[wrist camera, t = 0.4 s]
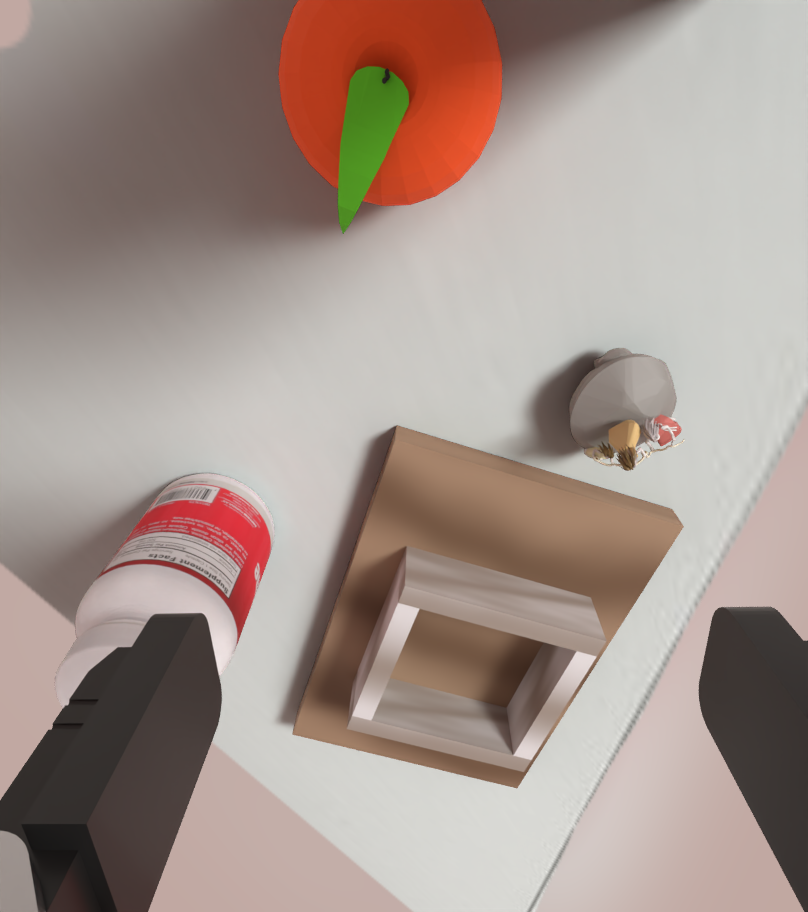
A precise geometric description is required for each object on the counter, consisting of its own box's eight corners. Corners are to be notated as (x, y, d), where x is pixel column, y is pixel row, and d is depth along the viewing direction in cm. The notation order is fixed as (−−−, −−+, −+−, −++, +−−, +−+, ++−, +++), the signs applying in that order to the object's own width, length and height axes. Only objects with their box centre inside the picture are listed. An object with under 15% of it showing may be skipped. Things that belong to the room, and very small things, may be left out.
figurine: (596, 322, 26) (632, 396, 21) (689, 354, 26) (746, 432, 22) (541, 422, 29) (562, 507, 24) (626, 448, 30) (664, 536, 25)
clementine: (439, 250, 25) (444, 289, 19) (272, 186, 24) (217, 203, 18) (524, 24, 21) (565, -23, 15) (332, -61, 21) (291, -150, 14)
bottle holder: (396, 425, 28) (392, 472, 24) (672, 509, 30) (710, 566, 26) (297, 712, 37) (281, 782, 33) (513, 765, 39) (524, 838, 35)
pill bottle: (229, 590, 33) (147, 781, 23) (132, 523, 31) (-2, 698, 22) (302, 521, 31) (245, 699, 21) (202, 444, 29) (89, 599, 19)
